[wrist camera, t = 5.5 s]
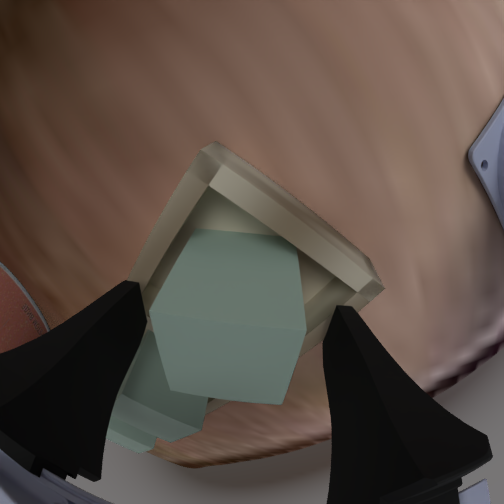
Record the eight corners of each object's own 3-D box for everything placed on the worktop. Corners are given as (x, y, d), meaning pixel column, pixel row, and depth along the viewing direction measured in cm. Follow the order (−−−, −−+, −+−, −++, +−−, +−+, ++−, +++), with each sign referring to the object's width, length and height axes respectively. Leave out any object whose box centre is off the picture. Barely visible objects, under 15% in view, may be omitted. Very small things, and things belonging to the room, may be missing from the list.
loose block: (295, 237, 11) (306, 329, 6) (281, 312, 13) (281, 404, 8) (195, 228, 11) (148, 310, 6) (198, 303, 13) (170, 390, 8)
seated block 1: (169, 392, 18) (153, 448, 13) (153, 406, 20) (138, 453, 15) (123, 368, 17) (99, 423, 13) (112, 384, 19) (92, 431, 14)
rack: (369, 258, 11) (384, 288, 9) (167, 417, 21) (161, 436, 19) (215, 141, 9) (200, 149, 7) (90, 377, 19) (81, 395, 17)
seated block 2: (217, 352, 15) (201, 430, 10) (187, 378, 16) (170, 442, 12) (155, 318, 14) (121, 393, 9) (134, 349, 15) (106, 412, 11)
